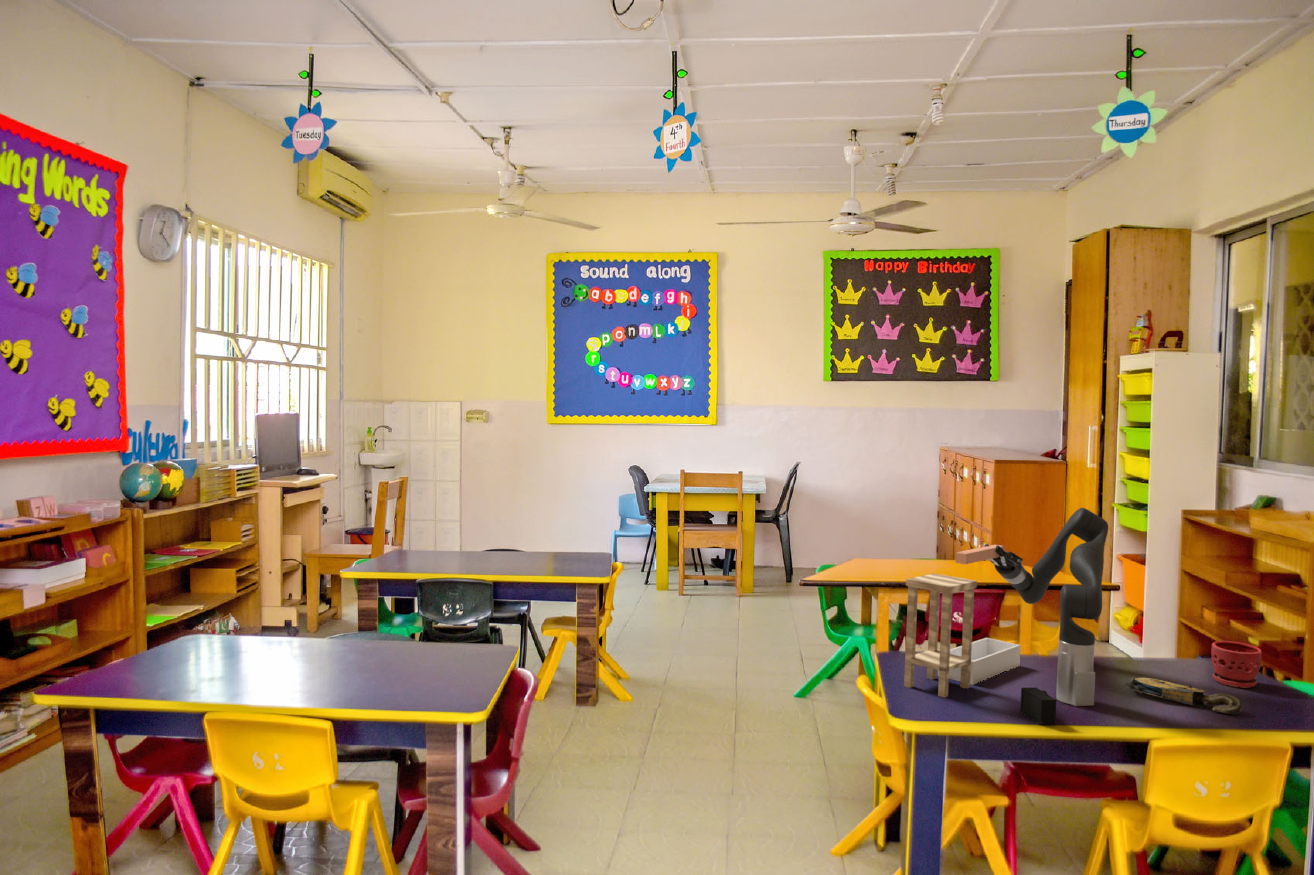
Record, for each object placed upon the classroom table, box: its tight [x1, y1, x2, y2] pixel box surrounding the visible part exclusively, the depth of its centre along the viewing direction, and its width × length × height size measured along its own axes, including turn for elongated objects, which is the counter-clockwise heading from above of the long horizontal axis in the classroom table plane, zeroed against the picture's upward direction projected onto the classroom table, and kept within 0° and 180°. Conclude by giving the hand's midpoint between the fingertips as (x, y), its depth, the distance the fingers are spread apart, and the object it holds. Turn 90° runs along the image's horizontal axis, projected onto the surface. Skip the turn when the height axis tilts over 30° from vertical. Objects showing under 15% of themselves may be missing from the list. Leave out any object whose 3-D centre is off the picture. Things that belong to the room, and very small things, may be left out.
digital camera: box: [1019, 687, 1057, 726], centre depth 236 cm, size 10×5×7 cm, turn 6°
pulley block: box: [1118, 677, 1243, 715], centre depth 255 cm, size 14×6×30 cm
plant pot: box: [1210, 640, 1263, 689], centre depth 274 cm, size 13×13×12 cm
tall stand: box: [903, 573, 978, 698], centre depth 261 cm, size 16×14×32 cm
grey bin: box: [936, 637, 1021, 686], centre depth 279 cm, size 32×12×7 cm, turn 133°
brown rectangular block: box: [955, 544, 1005, 565], centre depth 277 cm, size 26×3×3 cm, turn 134°
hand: (991, 547), depth 281 cm, fingers closed on brown rectangular block, 3 cm apart
